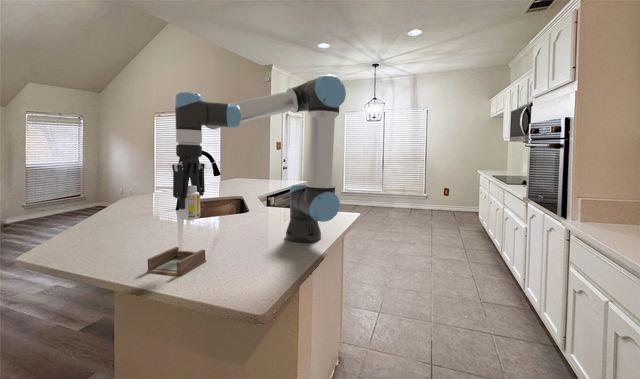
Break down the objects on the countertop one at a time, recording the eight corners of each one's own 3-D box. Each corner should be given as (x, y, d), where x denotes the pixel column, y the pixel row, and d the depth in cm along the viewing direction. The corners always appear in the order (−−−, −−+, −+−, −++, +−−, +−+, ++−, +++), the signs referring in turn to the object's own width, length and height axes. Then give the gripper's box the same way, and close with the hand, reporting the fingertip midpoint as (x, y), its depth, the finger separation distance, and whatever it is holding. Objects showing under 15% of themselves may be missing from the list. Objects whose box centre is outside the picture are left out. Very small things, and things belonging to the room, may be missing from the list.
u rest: (206, 261, 110) (206, 249, 110) (181, 276, 98) (181, 262, 97) (175, 258, 113) (174, 246, 113) (147, 272, 101) (146, 259, 100)
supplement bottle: (194, 215, 109) (193, 184, 108) (203, 218, 106) (202, 186, 104) (177, 217, 105) (177, 186, 104) (186, 220, 101) (186, 187, 100)
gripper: (196, 144, 112) (196, 211, 115) (157, 142, 94) (159, 222, 97) (216, 145, 111) (216, 212, 113) (180, 143, 93) (181, 224, 95)
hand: (190, 217), depth 105 cm, fingers closed on supplement bottle, 6 cm apart
